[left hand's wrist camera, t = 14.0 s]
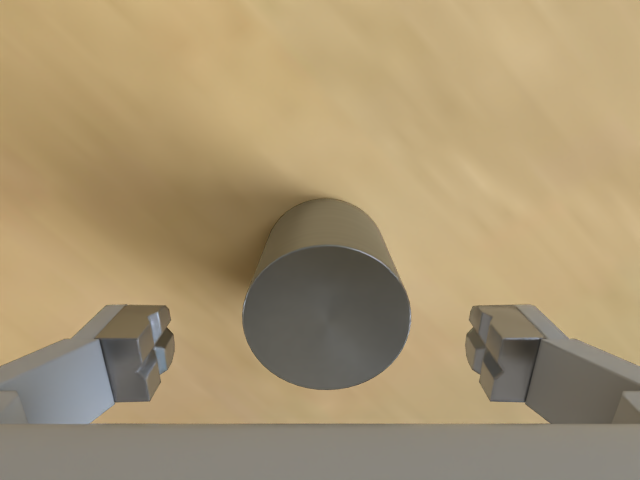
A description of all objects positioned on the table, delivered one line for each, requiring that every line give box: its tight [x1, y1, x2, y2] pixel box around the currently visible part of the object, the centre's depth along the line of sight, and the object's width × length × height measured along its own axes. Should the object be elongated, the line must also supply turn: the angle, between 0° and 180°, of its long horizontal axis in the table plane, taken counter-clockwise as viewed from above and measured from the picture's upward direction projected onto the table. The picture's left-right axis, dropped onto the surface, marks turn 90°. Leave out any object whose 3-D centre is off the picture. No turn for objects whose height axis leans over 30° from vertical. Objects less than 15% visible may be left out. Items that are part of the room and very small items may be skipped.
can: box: [242, 199, 411, 390], centre depth 13 cm, size 5×5×5 cm
